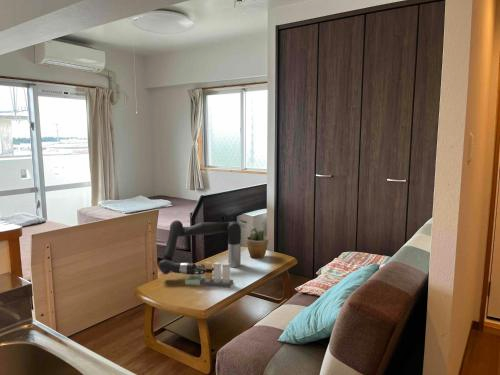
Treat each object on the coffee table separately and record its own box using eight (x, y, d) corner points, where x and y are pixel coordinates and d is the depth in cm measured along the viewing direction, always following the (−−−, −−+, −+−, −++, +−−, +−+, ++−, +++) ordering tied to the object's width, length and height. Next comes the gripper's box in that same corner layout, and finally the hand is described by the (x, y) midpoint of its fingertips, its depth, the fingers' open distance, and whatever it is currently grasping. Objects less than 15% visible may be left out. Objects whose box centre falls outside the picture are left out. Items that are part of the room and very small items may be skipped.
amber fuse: (206, 279, 250) (206, 261, 248) (212, 279, 249) (212, 261, 248) (205, 280, 247) (204, 263, 245) (211, 281, 246) (210, 263, 244)
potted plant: (241, 258, 302) (241, 227, 299) (254, 252, 317) (253, 223, 314) (260, 262, 291) (260, 230, 288) (272, 255, 307) (272, 225, 304)
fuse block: (205, 280, 253) (205, 274, 253) (233, 282, 249) (233, 276, 249) (201, 285, 244) (201, 279, 244) (229, 287, 241) (229, 281, 240)
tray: (190, 279, 256) (190, 274, 255) (204, 280, 254) (204, 275, 253) (185, 284, 246) (185, 280, 246) (199, 285, 244) (199, 281, 244)
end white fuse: (224, 280, 247) (223, 262, 246) (230, 281, 247) (229, 263, 245) (222, 282, 244) (222, 264, 243) (228, 282, 243) (228, 264, 242)
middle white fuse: (215, 279, 249) (215, 262, 247) (221, 280, 248) (220, 262, 246) (213, 281, 245) (213, 263, 244) (219, 282, 245) (219, 264, 243)
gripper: (191, 270, 257) (216, 272, 254) (184, 277, 243) (209, 279, 240) (191, 259, 256) (215, 261, 253) (183, 266, 243) (209, 268, 239)
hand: (212, 270), depth 246 cm, fingers closed on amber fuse, 3 cm apart
